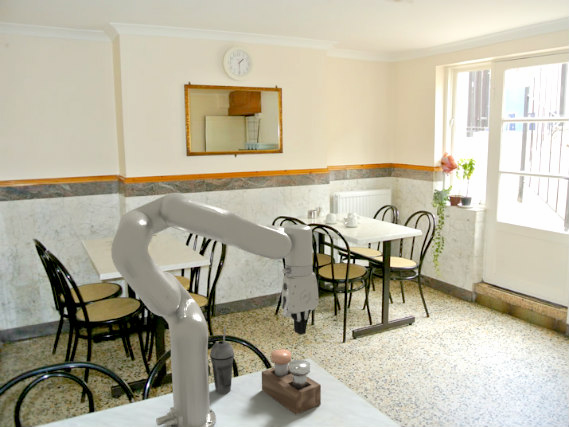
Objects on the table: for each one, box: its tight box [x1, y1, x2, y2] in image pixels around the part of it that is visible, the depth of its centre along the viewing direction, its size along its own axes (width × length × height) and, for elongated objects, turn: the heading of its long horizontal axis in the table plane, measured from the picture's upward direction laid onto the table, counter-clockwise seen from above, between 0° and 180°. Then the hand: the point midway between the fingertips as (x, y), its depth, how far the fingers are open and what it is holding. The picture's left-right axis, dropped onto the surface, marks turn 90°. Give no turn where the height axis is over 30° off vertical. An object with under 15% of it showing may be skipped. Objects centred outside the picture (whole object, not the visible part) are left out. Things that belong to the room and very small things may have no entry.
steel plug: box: [288, 359, 311, 390], centre depth 141 cm, size 6×6×8 cm
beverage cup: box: [209, 326, 235, 395], centre depth 149 cm, size 7×7×20 cm
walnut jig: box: [261, 364, 322, 416], centre depth 146 cm, size 9×17×6 cm, turn 36°
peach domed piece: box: [270, 348, 292, 378], centre depth 149 cm, size 6×6×8 cm
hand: (300, 332), depth 139 cm, fingers closed
